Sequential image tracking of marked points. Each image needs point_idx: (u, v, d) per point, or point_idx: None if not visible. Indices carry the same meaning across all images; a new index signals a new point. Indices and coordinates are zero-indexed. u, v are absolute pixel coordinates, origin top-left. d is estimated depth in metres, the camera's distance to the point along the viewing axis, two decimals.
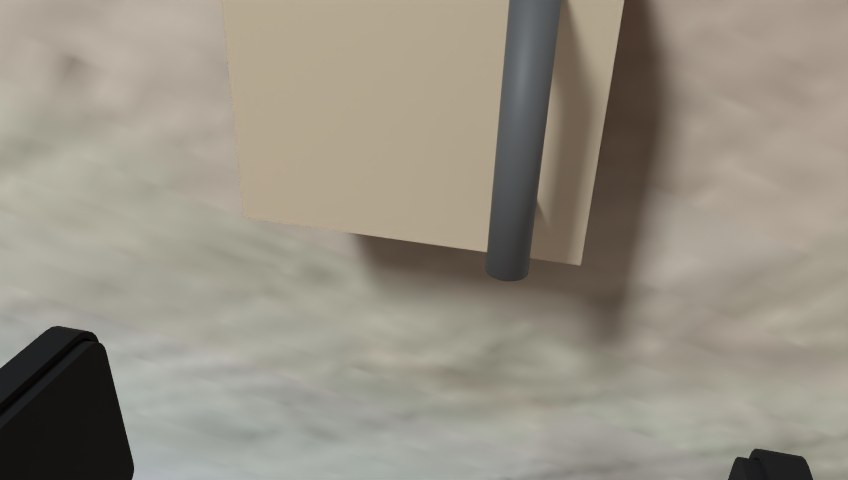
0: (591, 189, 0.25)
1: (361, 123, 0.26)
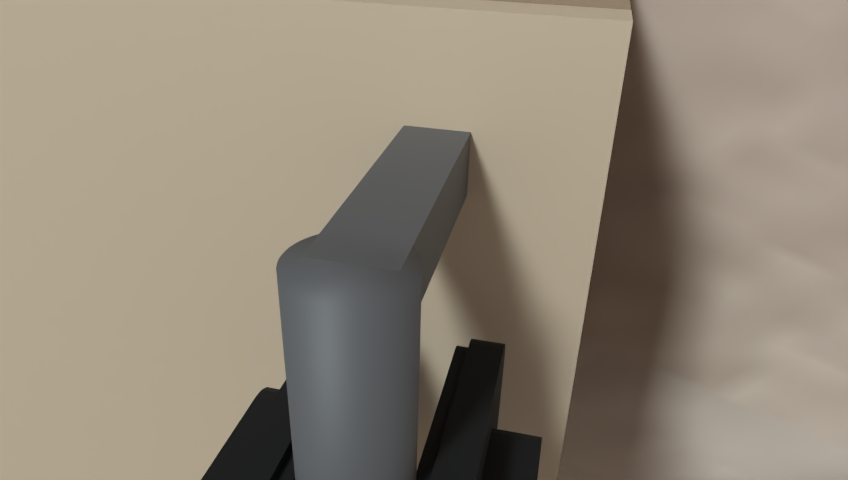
0: None
1: (124, 361, 0.14)
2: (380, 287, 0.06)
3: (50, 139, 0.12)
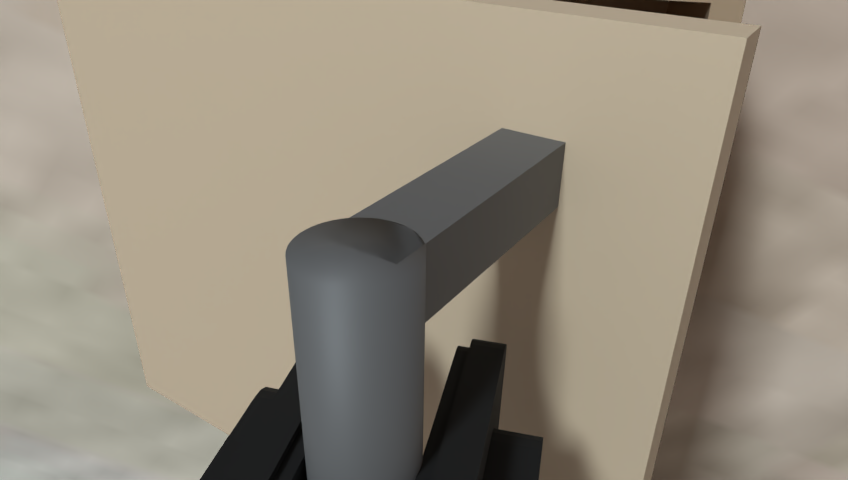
0: None
1: (258, 312, 0.16)
2: (368, 276, 0.06)
3: (217, 107, 0.14)
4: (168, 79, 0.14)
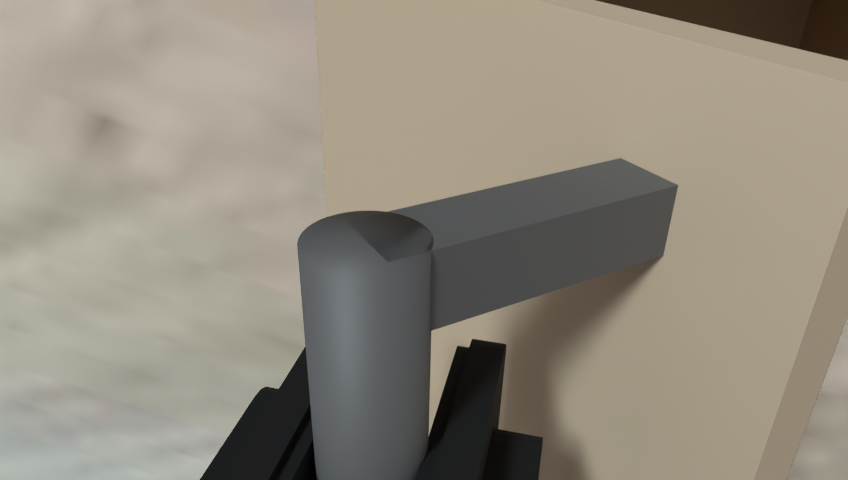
0: None
1: None
2: (352, 266, 0.07)
3: (403, 98, 0.14)
4: (374, 67, 0.15)
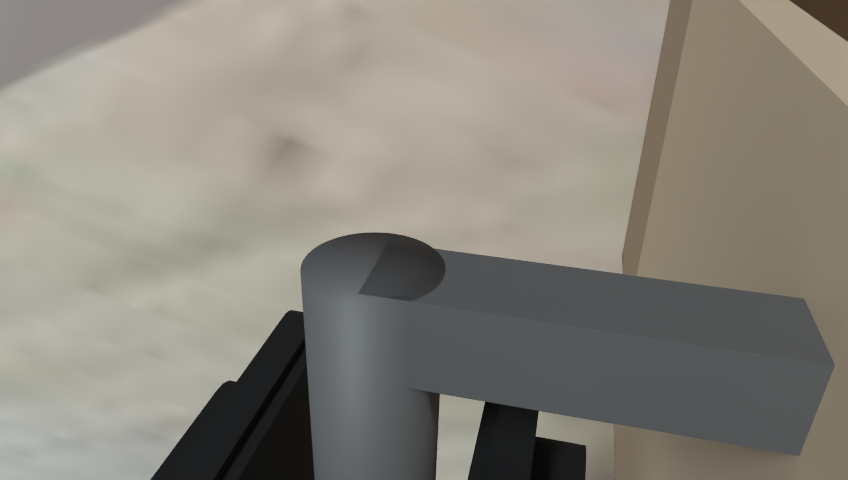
0: None
1: None
2: (326, 283, 0.06)
3: (700, 152, 0.12)
4: (695, 111, 0.13)
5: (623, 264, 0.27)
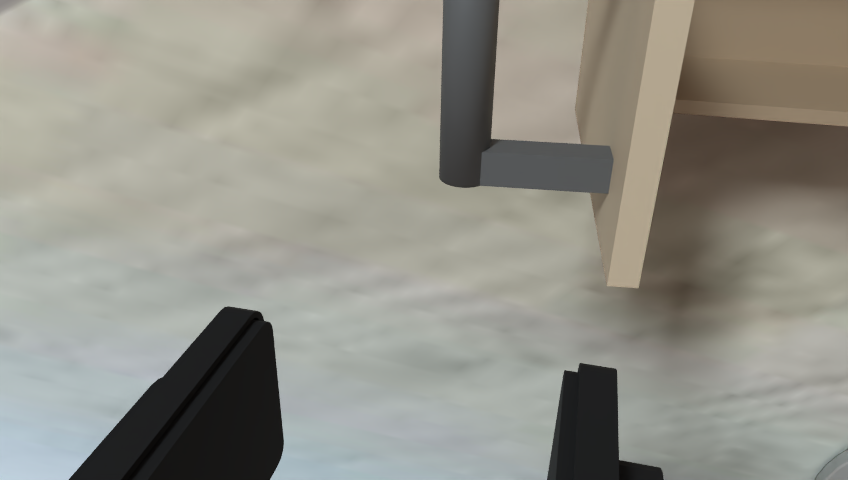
0: (625, 172, 0.17)
1: (600, 25, 0.23)
2: None
3: None
4: None
5: None
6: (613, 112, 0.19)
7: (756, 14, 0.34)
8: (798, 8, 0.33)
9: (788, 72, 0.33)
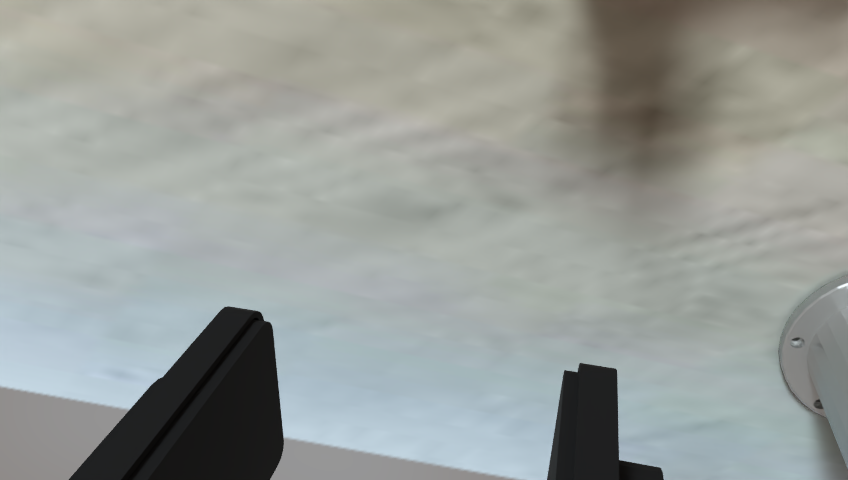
0: None
1: None
2: None
3: None
4: None
5: None
6: None
7: None
8: None
9: None
